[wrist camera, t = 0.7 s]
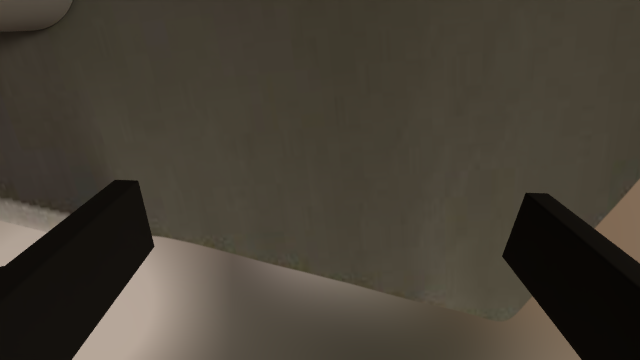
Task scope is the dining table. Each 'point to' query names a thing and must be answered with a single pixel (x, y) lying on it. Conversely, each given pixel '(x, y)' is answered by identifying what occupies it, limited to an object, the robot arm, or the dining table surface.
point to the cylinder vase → (31, 14)
